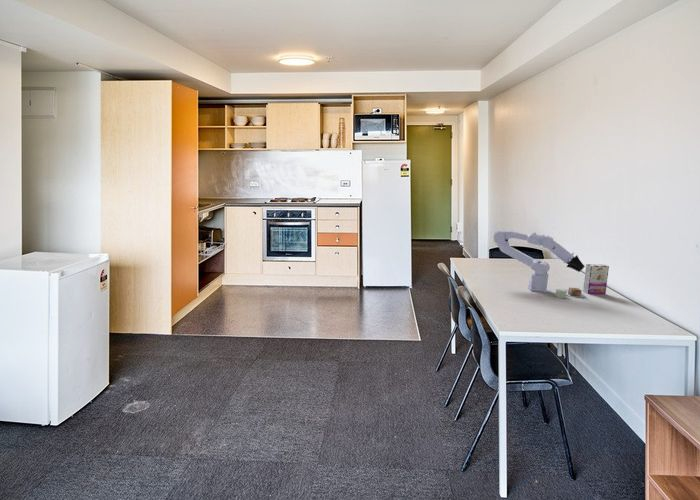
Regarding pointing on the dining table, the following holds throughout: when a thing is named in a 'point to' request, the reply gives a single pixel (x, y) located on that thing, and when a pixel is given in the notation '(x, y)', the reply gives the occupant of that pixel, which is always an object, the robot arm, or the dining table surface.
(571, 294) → the brown block
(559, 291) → the sage cube
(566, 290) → the blueprint mat
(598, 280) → the candy bar box
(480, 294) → the dining table surface
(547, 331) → the dining table surface
